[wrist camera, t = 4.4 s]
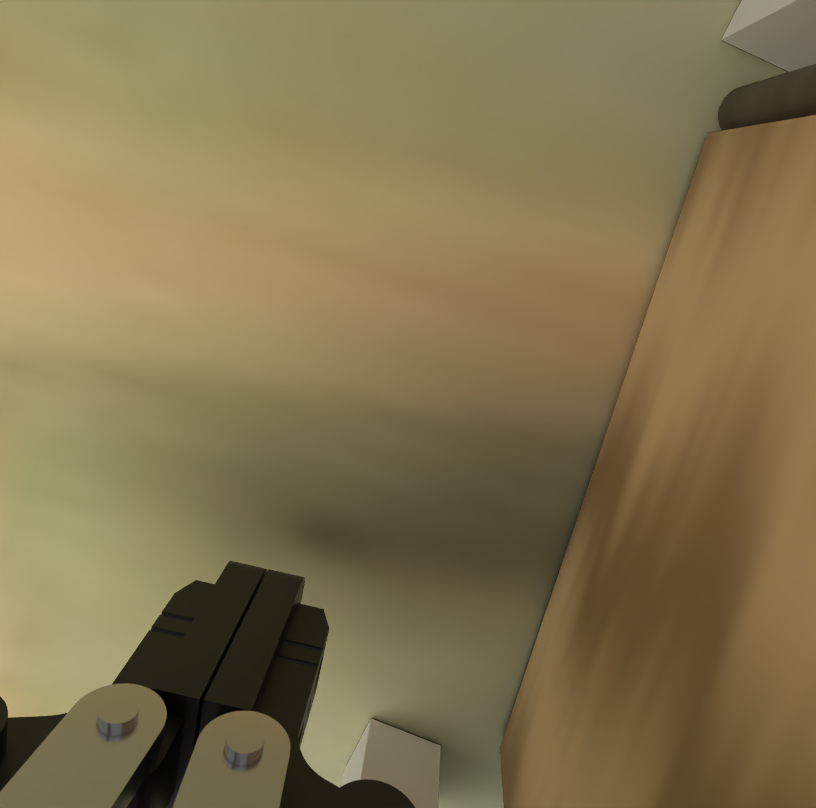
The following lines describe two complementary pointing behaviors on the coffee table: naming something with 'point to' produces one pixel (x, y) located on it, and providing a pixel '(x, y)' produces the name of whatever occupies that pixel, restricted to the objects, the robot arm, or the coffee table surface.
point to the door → (698, 512)
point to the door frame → (420, 759)
